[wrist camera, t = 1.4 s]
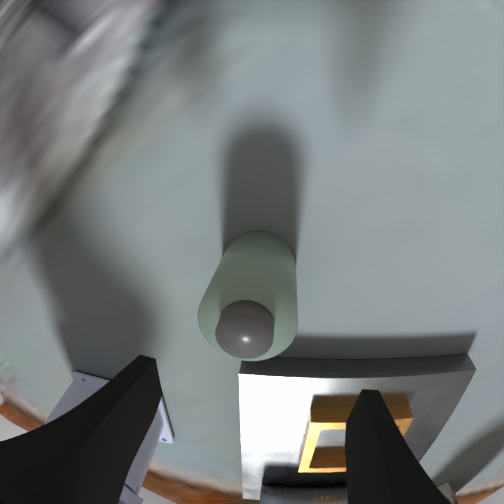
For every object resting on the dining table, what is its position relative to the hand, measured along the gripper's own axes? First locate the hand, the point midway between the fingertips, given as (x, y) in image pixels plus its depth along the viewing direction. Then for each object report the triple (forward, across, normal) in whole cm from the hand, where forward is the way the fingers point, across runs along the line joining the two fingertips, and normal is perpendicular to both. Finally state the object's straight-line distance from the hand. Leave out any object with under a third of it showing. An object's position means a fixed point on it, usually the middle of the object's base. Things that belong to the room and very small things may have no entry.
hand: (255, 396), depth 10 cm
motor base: (+9, -8, +18) cm, 21 cm away
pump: (+10, +1, 0) cm, 10 cm away
